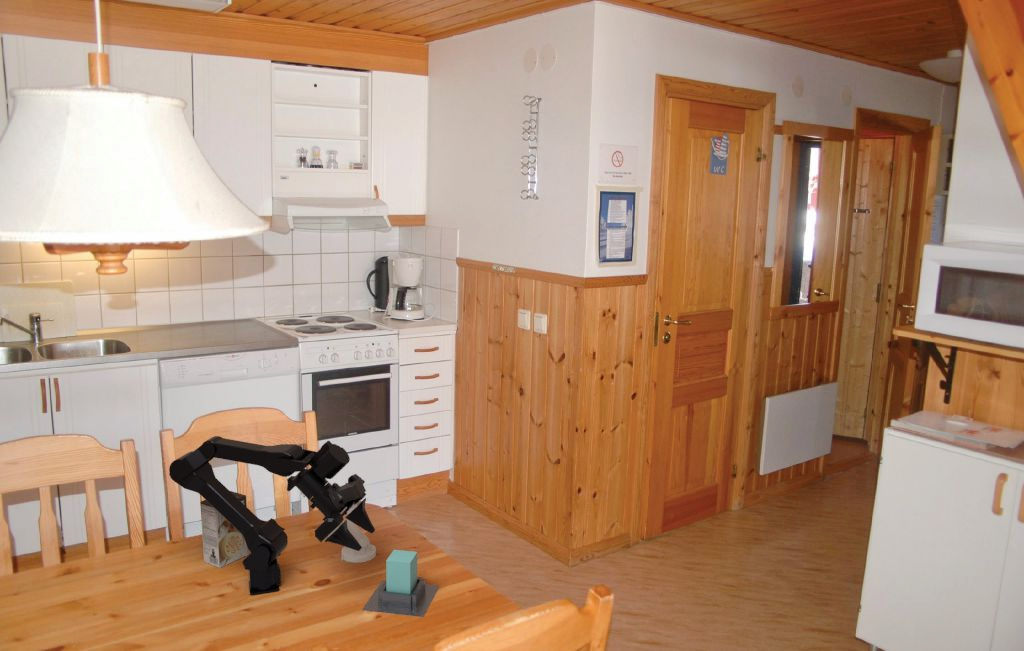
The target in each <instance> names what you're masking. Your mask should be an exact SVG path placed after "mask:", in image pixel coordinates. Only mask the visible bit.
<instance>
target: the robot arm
mask: <svg viewBox="0 0 1024 651" xmlns="http://www.w3.org/2000/svg"><path fill="white" fill-rule="evenodd" d="M214 458H217V459H221V460H226V461H231V462H233V461H234V462H237V463H238V462H239V463H243V464H249V465H254V466H259V467H261V468H264V470H267V471H268V472H269V473H271V474H275V475H277V476H279V477H283V478H286V477H288V478H287V479H286V481H287V486H286V490H287V492H291V490H293V489H294V488H295V487H296V488H297V489H298V490H299V491H300V492H301V493H302V494H303V495H304V496H305V498H306V499H307V500H308V501H309V502H310V503H311V504H310V506H309V507H310V508H311V509H312V510H314V509H315V508H316V509H317V511H319V512H320V513H321V514H322V515H323V516H324V517H322V520H323V521H322V522H321V524H320V525H318V526H317V527H316V529H315V530H314V537H315V538H316V539H317V540H318V541H319V542H320V543H322V542H325V543H328V542H330V543H331V544H336V545H339V546H342V547H348V548H351V549H354V550H356V551H359V550H360V549H361V548H362V547H361V545H360V544H359V543H358V541H357V540H356V539H355V537H354V536H353V535H352V534H351V532H350V531H349V530H348V528H347V520H345V519H348V520H350V521H351V522H353V523H354V524H355V525H356V526H357V527H358V528H359V527H360V529H363V530H364V531H366V532H368V533H370V534H374V533H375V531H376V529H375V526H374V525H373V523H372V521H371V519H370V517H369V515H368V513H367V510H366V501H367V498H366V495H367V493H366V492H367V490H366V488H365V486H364V484H365V483H366V482H365V479H363V478H362V477H360V476H359V475H358V474H357V473H353V474H352V475H350V476H349V477H348V478H347V482H345V484H343V485H341V486H340V485H339V484H338V483H336V482H333V483H332V484H331V483H330V482H329V481H328V480H331V479H333V478H335V476H336V475H337V474H338V473H339V472H340V471H342V469H344V468H345V467H346V466H347V465H348V464H349V463H350V459H351V458H350V455H349V453H348V452H347V451H346V449H345V448H344V447H341V446H340V445H338V444H336V443H332V442H331V441H330V440H327V441H326V442H324V443H323V444H322V445H321V447H320V448H319V449H318V451H315V450H310V449H304V448H303V447H302V446H300V445H299V444H296V443H295V444H294V443H293V444H288V443H287V444H286V443H285V444H284V443H283V444H276V445H263V444H258V443H253V442H248V441H241V440H235V439H231V438H230V439H229V438H225V437H222V436H219V435H214V436H212V437H210V438H208V439H206V440H205V441H204V442H203V443H202V444H201V445H200V446H198V447H196V449H194V450H192V451H189V452H187V453H185V454H183V455H182V456H179V457H178V458H176V459H174V460H173V461H172V462H171V463H170V465H169V469H168V473H169V474H168V475H169V477H170V479H171V480H172V481H173V482H175V483H176V484H178V485H179V486H181V487H182V488H183V489H185V490H188V491H192V492H195V493H197V494H199V495H200V496H201V497H202V498H203V499H204V500H207V501H208V502H209V503H210V504H211V505H212V506H213V507H214V508H215V509H216V510H217V511H218V512H219V513H220V514H221V515H222V516H223V517H224V518H226V519H227V520H228V521H229V522H230V523H231V524H232V525H233V526H234V527H235V528H236V529H237V530H238V531H239V532H240V533H241V534H242V535H243V536H244V539H245V542H246V545H247V548H248V549H249V555H247V556H245V557H244V559H243V560H242V564H243V567H244V569H245V570H248V575H249V578H248V579H249V580H248V589H249V590H248V591H249V596H250V595H251V596H253V595H258V594H259V595H260V594H265V593H266V594H267V593H273V592H278V591H280V585H281V584H282V578H281V564H280V563H278V557H280V556H281V554H282V552H284V550H285V549H286V548H287V547H288V542H289V541H288V535H287V533H286V531H285V530H286V528H284V527H282V526H280V525H279V524H278V522H277V521H276V519H274V518H270V519H268V521H266V520H263V519H260V518H259V517H258V516H257V515H255V514H254V512H253V511H251V510H250V509H249V508H248V507H246V506H245V505H244V504H243V503H242V502H241V501H240V500H239V499H237V498H236V497H235V496H234V495H233V494H232V493H231V492H230V491H231V490H229V489H228V488H227V487H226V486H225V485H224V484H223V483H222V482H221V481H220V480H218V478H216V476H215V472H214V469H213V466H212V464H211V463H210V462H211V461H212V460H213V459H214ZM309 466H310V468H309V469H308V467H309ZM294 473H297V474H296V475H293V474H294ZM345 515H346V516H345ZM344 516H345V519H344ZM344 520H345V521H344ZM343 521H344V522H343Z"/></svg>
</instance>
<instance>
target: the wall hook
mask: <svg viewBox="0 0 1024 651" xmlns="http://www.w3.org/2000/svg"><path fill="white" fill-rule="evenodd" d="M345 520H347V528H348V530H349V531H350V532H351V534H352V535H353V536H354V537H355V539H356V540H357V541H358V543H359V544H360V545H361V547H362V548H361V549H360V550H359V551H356V550H354V549H351V548H348V547H345V546H343V547H342V549H341V554H340V555H341V559H340V560H341V561H343V560H344V561H345V562H348V563H354V564H355V563H364V562H369V561H371V560H373V559H374V558H376V556H377V547H376V546H375V545H374V544H372V543H370V538H369V537H368V536H367V535H366V534H365V533H364V532H363V531H362V530H361V528H359V526H358V525H356V524H354V523H353V522H351V521H350V520H348V519H346V518H345V519H344V520H343V521H342V522H344V521H345Z"/></svg>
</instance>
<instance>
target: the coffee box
mask: <svg viewBox="0 0 1024 651" xmlns="http://www.w3.org/2000/svg"><path fill="white" fill-rule="evenodd" d="M229 491H230V492H231V493H232V494H233V495H234V496H235V497H236V498H237V499H239V500H240V501H241V502H242V503H243V504H244V505H245V506H246V507H247V506H248V504H247V495H245V494H243V493H240V492H236V491H233V490H229ZM199 504H200V515H201V516H200V517H201V520H200V521H201V533H202V534H201V537H202V550H203V553H202V554H203V562H204V563H206V564H208V563H209V564H208V565H210V566H211V565H212V566H213V567H217V568H219V569H221V568H223V567H225V566H228V565H230V564H231V563H234V562H235V561H236V562H237V561H238V560H240V559H243V558H245V557H247V556H249V555H250V551H249V549H248V548H247V545H246V542H245V539H244V536H243V535H242V534H241V533H240V532H239V531H238V530H237V529H236V528H235V527H234V526H233V525H232V524H231V523H230V522H229V521H228V520H227V519H226V518H224V517H223V516H222V515H221V514H220V513H219V512H218V511H217V510H216V509H215V508H214V507H213V506H212V505H211V504H210V503H209V502H208V501H207V500H205V499H204V500H202V501H200V503H199ZM247 508H248V507H247ZM244 556H245V557H244Z"/></svg>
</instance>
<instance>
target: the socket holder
mask: <svg viewBox="0 0 1024 651" xmlns="http://www.w3.org/2000/svg"><path fill="white" fill-rule="evenodd" d="M440 586H441V585H437V584H427V583H426V578H422V577H420V576H419V577H418V576H417V586H416V588H415V590H414V592H413V593H412V594H407V593H398V592H388V591H386V579H381V582H380V583H378V586H377V587H376V588H375V590H374V591H373V593H372V594H371V596H370V597H369V599H368V600H367V602H366V603H365V604H364V606H363V608H362V609H361V611H363V612H364V611H365V612H374V613H384V614H393V615H402V616H408V617H409V616H411V617H418V618H419V617H420V618H424V617H425V615H426V613H427V611H428V609H429V607H430V606H431V604H432V602H433V601H434V598H435V597H436V594H437V592H438V590H439V589H440Z"/></svg>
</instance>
